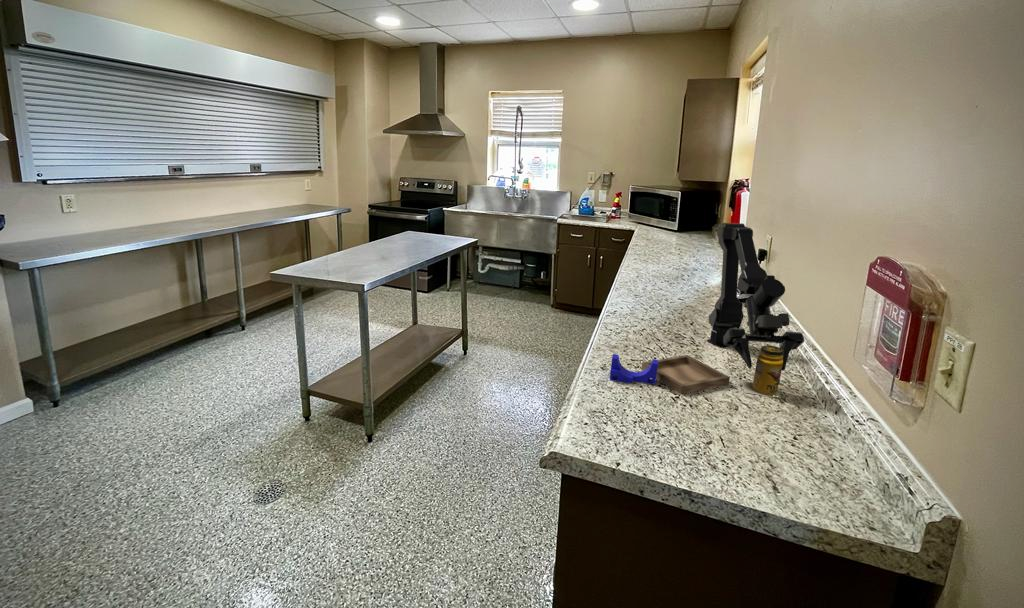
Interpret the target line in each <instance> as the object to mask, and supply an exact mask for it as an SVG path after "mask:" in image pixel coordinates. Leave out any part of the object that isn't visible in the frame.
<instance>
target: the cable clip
mask: <svg viewBox="0 0 1024 608" xmlns="http://www.w3.org/2000/svg"><path fill="white" fill-rule="evenodd" d="M619 357H620V355H619V354H616V353H613V354H612V357H611V367H610V370H609V371H610V372H609V381H613V382H614V381H615V382H621V383H628V384H633V382H637V383H644V384H651V385H656V382H657V379H656V375H657V367H658V360H659V359H653V358H652V360H651V361H652V363H651V365H650V366H649V367H648V368H647V369H646V370H644V371H643V370H642V371H631V370H628V369H626V368H625V367H624V366H623V365H622V363H621V361H620V358H619Z"/></svg>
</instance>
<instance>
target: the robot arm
mask: <svg viewBox="0 0 1024 608" xmlns="http://www.w3.org/2000/svg"><path fill="white" fill-rule="evenodd" d="M716 236H717V238H718V239H717V241H718V243H717V244H718V245H719V246H720V248H721V250H722V253H723V254H722V265H721V266H722V270H721V284H720V285H721V287H720V296H719V298H718V300H717V301H716V302H715V304H714V309H713V310H712V311H711V313H710V314H709V316H708V323H709V326H711V327H712V328H711V331H710V336H709V339H708V338H707V339H706V342H708V343H710V344H712V345H715V346H716V347H719V348H726V347H730V349H733V350H735V352H736V353H737V354H738V355H739V356H740V358H741V359H742V361H744V363H745V365H746V366H747V368H748V369H751V368H752V366H753V365H752V364H753V363H752V357H751V352H750V348H749V347H750V346H749V345H750V342H759V343H771V344H772V343H773V344H778V345H779V348H781V349H782V350H783V358H782V360H783V366H782V371H785V369H786V366H787V362H788V359H789V355H790V352H791V351H794V350H797V349H798V348H799V347H800V346H801V345H802V344H803V343H804V342H805V336H804V335H803V333H801V332H799V331H785V333H783V334H782V335H775V334H777V333H778V332H779V329H780V330H781V329H783V327H788V326H789V325H790V316H789V313H784V312H783V313H782V312H781V313H779V314H777V315H774V314H773V313H772V312H771V307H773V306H774V305H775V304H776V303H777V302H778V301H779V300H780V299H781V298H782V297H783V295H784V294H785V292H786V287H785V285H784V284H783V283H782V282H781V281H780V280H779V279H776V277H775V275H772V274H771V275H768V274H767V272H766V271H767V270H765V269H764V268H762V266H760V263H759V259H758V255H757V250H756V246H755V244H754V243H755V242H754V231H753V229H752V228H751V227H749V226H745V224H744V223H743V222H742V223H739V222H722V224H721V225H719V226H718V227H717V231H716ZM739 267H740V272H741V273H740V274H739ZM738 291H739V292H740V294H741V295H749V296H748V297H747V298H746V300H745V303H744V308H746V313H747V319H748V320H747V322H746V326H747V327H748V329H749V333H746V330H745V329H744V328H740V327H741V325H742V322H743V319H744V312H743V302H742V301H740V299H739V298H738Z"/></svg>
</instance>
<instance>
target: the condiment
mask: <svg viewBox="0 0 1024 608" xmlns="http://www.w3.org/2000/svg"><path fill="white" fill-rule="evenodd" d="M782 358H783V350H782V349H781V348H780V346H779V347H778V346H775V345H769V344H768V345H763V346H761V347H760V351H759V355H758V356H757V358H756V363H755V369H754V374H753V375H754V376H753V379H752V380H753V381H751V382H750V381H746V380H741V382H742V386H743V390H744V393H746V394H753V395H758V396H764V397H771V398H774V397H773V395H775V396H778V397H777V399H780V398H781V399H782V397H781V395H780V393H779V386H780V381H781V380H780V379H781V375H782V371H783V370H782V366H783V360H782Z"/></svg>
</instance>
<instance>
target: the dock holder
mask: <svg viewBox="0 0 1024 608" xmlns="http://www.w3.org/2000/svg"><path fill="white" fill-rule="evenodd" d="M657 360H658V367H657V375H656V381H659V382H660V383H662V384H664V385H665V386H666V387H668V388H670V389H671V390H674V391H675V392H676V393H678V394H679V395H685V394H689V393H695V392H699V391H705V390H709V389H710V390H711V389H713V388H718V387H719V388H720V387H725V386H728V385H729V384H730V380H731V377H730V376H729V375H727V374H725V373H723V372H721V371H719V370H717V369H715V368H713V367H711V366H710V365H708V364H706V363H704V362H702V361H699V359H698V360H697V359H696V358H694V357H692V356H691V355H689V354H686V355H684V354H683V355H681V356H673V357H666V358H662V359H661V358H660V359H657ZM651 363H652V360H649V361H642V362H641V370H642V371H644V370H646V369H647V368H648V367H649V366H650V365H651Z"/></svg>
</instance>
